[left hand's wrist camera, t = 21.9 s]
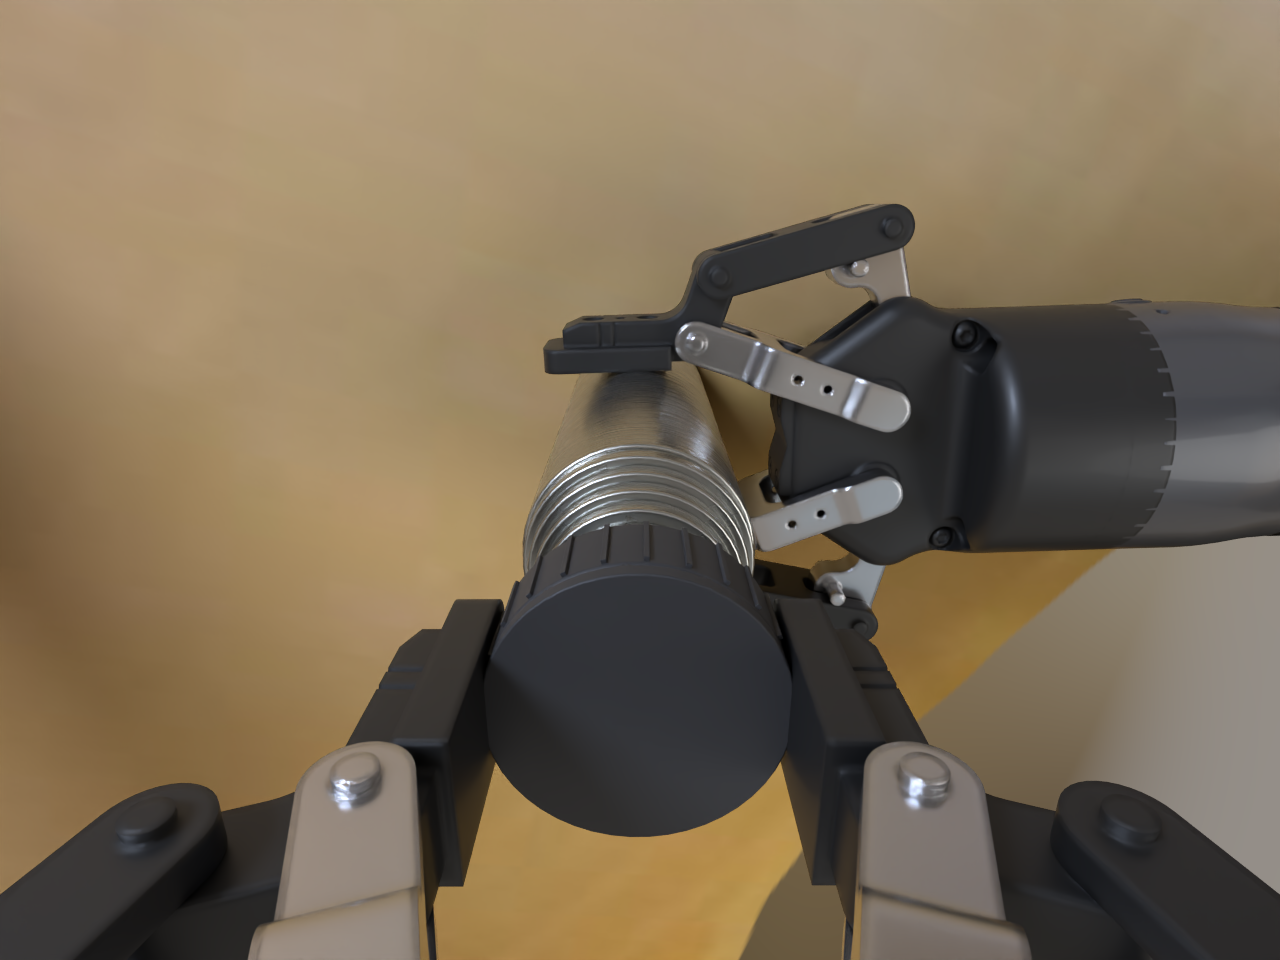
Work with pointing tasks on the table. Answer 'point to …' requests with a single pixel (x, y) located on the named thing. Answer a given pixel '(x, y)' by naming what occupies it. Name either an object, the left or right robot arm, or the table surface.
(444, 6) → the table surface
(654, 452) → the bottle
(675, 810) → the cap
